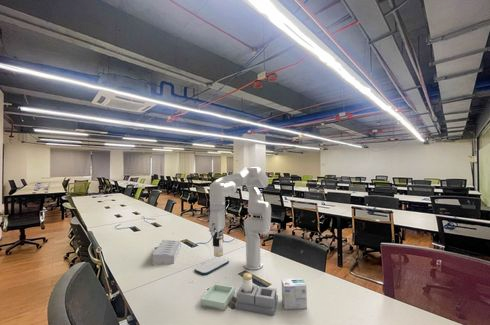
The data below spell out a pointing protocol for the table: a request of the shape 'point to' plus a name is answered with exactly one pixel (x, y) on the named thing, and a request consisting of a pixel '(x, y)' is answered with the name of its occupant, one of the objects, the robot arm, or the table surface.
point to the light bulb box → (294, 293)
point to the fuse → (247, 283)
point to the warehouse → (166, 252)
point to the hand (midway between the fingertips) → (218, 244)
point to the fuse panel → (257, 300)
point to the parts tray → (218, 297)
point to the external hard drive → (211, 265)
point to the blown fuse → (219, 250)
